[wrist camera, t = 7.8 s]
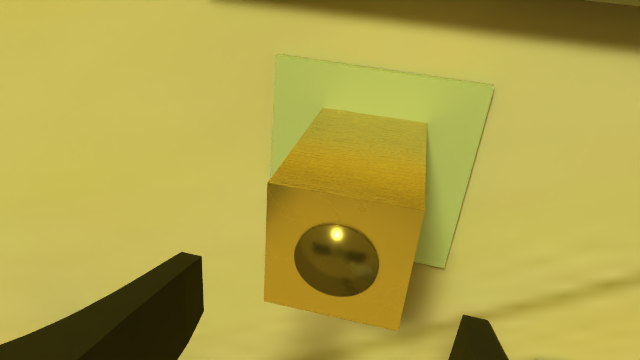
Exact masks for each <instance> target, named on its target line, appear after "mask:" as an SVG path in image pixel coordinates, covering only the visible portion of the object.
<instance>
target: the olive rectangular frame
mask: <svg viewBox="0 0 640 360" xmlns="http://www.w3.org/2000/svg"><path fill="white" fill-rule="evenodd" d="M586 1H595V2H604V3H613V4H622V5H631V6H639V7H640V0H586Z"/></svg>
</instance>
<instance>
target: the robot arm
mask: <svg viewBox="0 0 640 360" xmlns="http://www.w3.org/2000/svg"><path fill="white" fill-rule="evenodd" d="M203 312H204V305H203V279H202V256H197V255H193V254H188V253H184V252H181V253H179V254H177V255H176V256H174V257H172V258H170V259H169V260H167V261H165V262H164V263H162V264H161V265H159V266H157V267H156V268H154V269H152V270H151V271H149V272H147V273H146V274H144V275H142V276H141V277H139V278H137V279H136V280H134V281H132V282H131V283H129V284H127V285H125V286H124V287H122V288H120V289H119V290H117V291H115V292H113V293H112V294H110V295H108V296H106V297H104V298H102V299H100V300H99V301H97V302H95V303H93V304H91V305H89V306H87V307H85V308H84V309H82V310H80V311H78V312H76V313H74V314H72V315H70V316H68V317H66V318H64V319H61V320H59V321H57V322H55V323H53V324H50V325H48V326H46V327H44V328H41V329H39V330H37V331H35V332H32V333H30V334H28V335H25V336H22V337H20V338H17V339H15V340H12V341H9V342H7V343H4V344H1V345H0V360H177V359H178V358H179V356H180V355H181V353H182V352H183V350H184V349H185V347H186V345H187V344H188V342H189V340H190V338H191V336H192V334H193V332H194V330H195V328H196V326H197V324H198V322H199V320H200V318H201V316H202V314H203ZM449 360H509V359H508V358H507V356H506V354H505V352H504V350H503V348H502V346H501V344H500V342H499V340H498V338H497V336H496V334H495V332H494V330H493V328H492V326H491V324H490V323H489V322H488V320H485V319H480V318H476V317H471V316H467V315H463V316H462V319H461V323H460V326H459V329H458V332H457V335H456V338H455V341H454V344H453V347H452V351H451V354H450V357H449Z"/></svg>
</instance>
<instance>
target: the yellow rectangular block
mask: <svg viewBox="0 0 640 360" xmlns="http://www.w3.org/2000/svg"><path fill="white" fill-rule="evenodd" d="M426 138H427V123H424V122H418V121H411V120H404V119H397V118H391V117H384V116H377V115H371V114H364V113H357V112H351V111H344V110H337V109H330V108H324V107H323V108H322V109H321V110H320V112H319V113H318V114H317V116H316V117H315V119H314V120H313V121H312V123H311V124H310V125H309V127H308V128H307V130H306V131H305V132H304V134H303V135H302V136H301V138H300V139H299V140H298V142H297V143H296V145H295V146H294V147H293V149H292V150H291V151H290V153H289V154H288V156H287V157H286V158H285V160H284V161H283V162H282V164H281V165H280V167H279V168H278V169H277V171H276V172H275V173H274V175H273V176H272V178H271V179H270V180H269V182H268V186H267V218H266V251H265V284H264V301H266V302H270V303H275V304H279V305H284V306H288V307H292V308H297V309H301V310H306V311H310V312H315V313H319V314H324V315H328V316H333V317H337V318H341V319H346V320H350V321H355V322H359V323H364V324H368V325H373V326H377V327H382V328H386V329H390V330H395V331H398V330H399V325H400V321H401V316H402V312H403V307H404V303H405V298H406V294H407V289H408V285H409V280H410V276H411V271H412V267H413V262H414V258H415V253H416V249H417V244H418V240H419V235H420V231H421V226H422V222H423V217H424V213H425V182H426Z"/></svg>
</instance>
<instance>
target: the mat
mask: <svg viewBox="0 0 640 360" xmlns="http://www.w3.org/2000/svg"><path fill="white" fill-rule="evenodd" d="M494 88H495V87H494V85H490V84H483V83H476V82H469V81H462V80H455V79H448V78H441V77H434V76H427V75H420V74H413V73H406V72H399V71H392V70H385V69H378V68H371V67H364V66H357V65H350V64H343V63H336V62H329V61H322V60H315V59H308V58H301V57H294V56H287V55H280V54H278V55H277V56H276V62H275V84H274V106H273V129H272V151H271V174H270V179H271V178H272V176H273V175H274V173H275V172H276V171H277V169H278V168H279V167H280V165H281V164H282V162H283V161H284V160H285V158H286V157H287V156H288V154H289V153H290V151H291V150H292V149H293V147H294V146H295V145H296V143H297V142H298V140H299V139H300V138H301V136H302V135H303V134H304V132H305V131H306V130H307V128H308V127H309V125H310V124H311V123H312V121H313V120H314V119H315V117H316V116H317V114H318V113H319V112H320V110H321V109H322V108H323V107H324V108H330V109H337V110H344V111H351V112H357V113H364V114H371V115H377V116H384V117H391V118H397V119H404V120H411V121H418V122H424V123H427V138H426V182H425V213H424V217H423V222H422V226H421V231H420V235H419V240H418V244H417V249H416V253H415V258H414V262H416V263H421V264H426V265H430V266H435V267H440V268H444V267H445V264H446V260H447V257H448V253H449V249H450V246H451V242H452V239H453V235H454V231H455V228H456V224H457V221H458V217H459V213H460V210H461V206H462V203H463V199H464V195H465V192H466V188H467V185H468V181H469V177H470V174H471V170H472V167H473V163H474V159H475V156H476V152H477V149H478V145H479V141H480V138H481V134H482V131H483V127H484V123H485V120H486V116H487V113H488V109H489V106H490V102H491V98H492V95H493V91H494Z"/></svg>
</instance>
